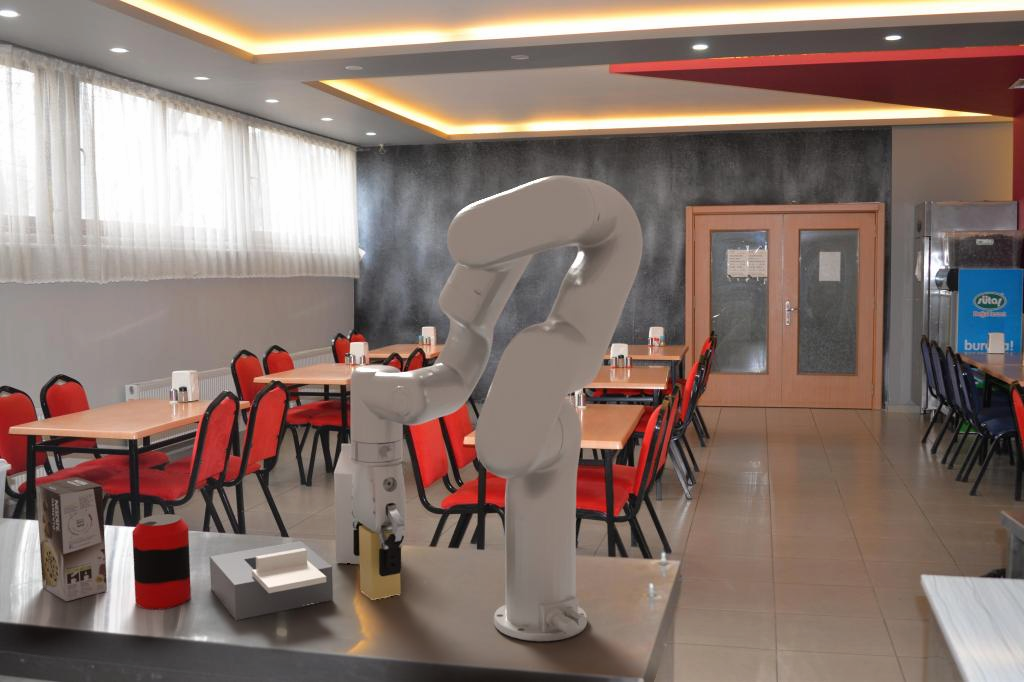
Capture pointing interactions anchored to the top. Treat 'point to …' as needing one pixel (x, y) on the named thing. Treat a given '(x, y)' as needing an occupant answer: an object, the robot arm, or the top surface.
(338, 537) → the milk carton
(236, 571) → the socket housing
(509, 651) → the top surface
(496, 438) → the robot arm
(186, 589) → the soda can
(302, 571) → the plate
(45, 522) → the coffee box
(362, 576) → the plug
